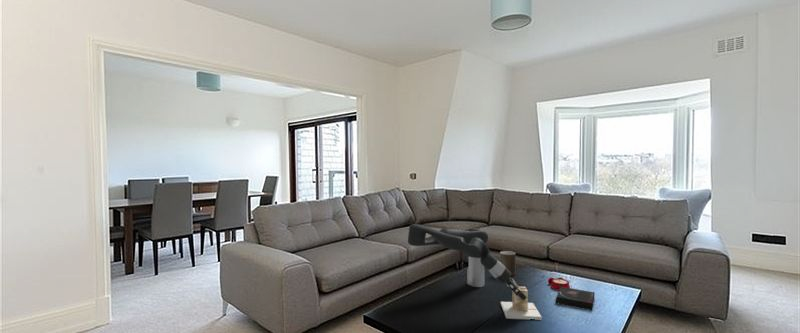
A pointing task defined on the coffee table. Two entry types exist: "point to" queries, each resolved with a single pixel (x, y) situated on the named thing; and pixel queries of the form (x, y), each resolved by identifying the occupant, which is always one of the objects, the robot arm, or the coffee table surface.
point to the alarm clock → (558, 283)
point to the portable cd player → (575, 298)
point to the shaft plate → (520, 312)
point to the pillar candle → (509, 261)
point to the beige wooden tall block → (520, 300)
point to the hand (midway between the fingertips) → (523, 295)
